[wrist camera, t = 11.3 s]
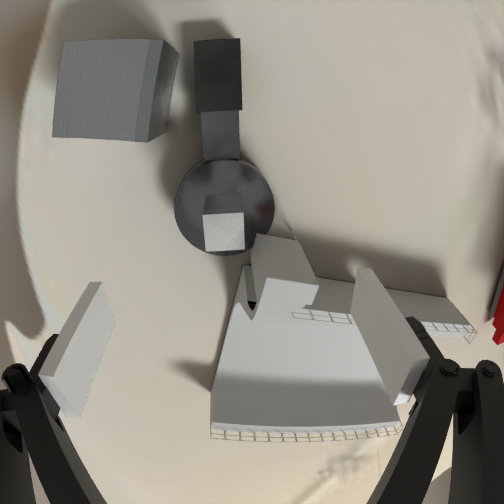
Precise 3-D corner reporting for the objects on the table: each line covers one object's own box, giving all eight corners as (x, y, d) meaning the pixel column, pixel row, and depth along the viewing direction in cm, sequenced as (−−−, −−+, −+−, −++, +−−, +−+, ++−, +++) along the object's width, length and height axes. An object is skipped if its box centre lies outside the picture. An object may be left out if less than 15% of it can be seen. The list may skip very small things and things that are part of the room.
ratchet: (168, 49, 24) (148, 32, 17) (267, 43, 25) (282, 24, 17) (183, 244, 33) (173, 286, 26) (270, 239, 33) (282, 280, 26)
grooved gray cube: (99, 52, 23) (179, 54, 24) (89, 126, 27) (166, 132, 28) (63, 41, 16) (163, 39, 18) (52, 137, 20) (147, 142, 21)
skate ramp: (210, 392, 44) (209, 454, 34) (253, 221, 32) (266, 277, 23) (382, 398, 49) (402, 446, 39) (462, 267, 38) (508, 311, 28)
